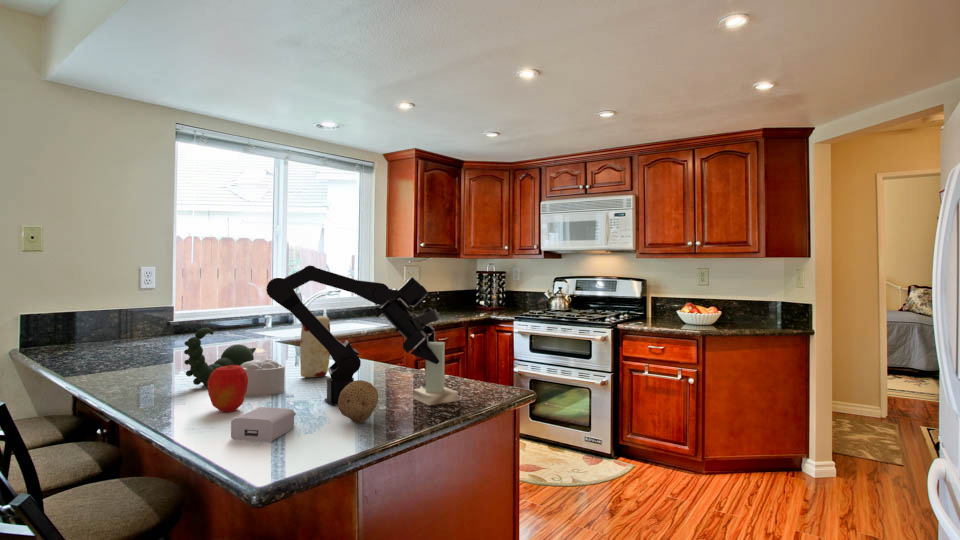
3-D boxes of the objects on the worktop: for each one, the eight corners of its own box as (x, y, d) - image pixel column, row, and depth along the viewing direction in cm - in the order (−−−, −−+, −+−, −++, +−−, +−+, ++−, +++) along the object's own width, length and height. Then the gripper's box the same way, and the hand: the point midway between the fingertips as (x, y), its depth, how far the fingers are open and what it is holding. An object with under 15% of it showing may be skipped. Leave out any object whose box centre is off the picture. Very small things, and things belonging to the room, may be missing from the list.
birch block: (428, 407, 134) (428, 396, 134) (412, 400, 141) (412, 389, 141) (457, 402, 139) (457, 391, 139) (440, 395, 146) (440, 385, 146)
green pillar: (425, 392, 138) (425, 344, 137) (428, 388, 142) (428, 341, 142) (442, 392, 138) (442, 344, 137) (444, 388, 142) (444, 342, 142)
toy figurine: (204, 398, 144) (268, 374, 167) (200, 332, 142) (265, 317, 166) (179, 395, 147) (245, 371, 171) (175, 330, 146) (242, 315, 169)
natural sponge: (368, 431, 111) (368, 385, 111) (330, 428, 113) (330, 383, 113) (383, 419, 120) (384, 377, 120) (348, 417, 122) (348, 375, 122)
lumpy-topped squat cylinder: (253, 386, 153) (253, 357, 153) (292, 388, 151) (292, 359, 151) (229, 394, 143) (230, 363, 143) (271, 397, 140) (272, 365, 140)
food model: (303, 380, 161) (304, 317, 161) (296, 376, 167) (297, 315, 167) (333, 376, 167) (334, 316, 167) (325, 373, 173) (326, 314, 173)
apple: (229, 404, 132) (230, 357, 132) (256, 408, 129) (257, 360, 129) (198, 413, 123) (198, 363, 123) (225, 417, 120) (226, 366, 120)
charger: (307, 422, 118) (272, 443, 103) (271, 419, 120) (230, 440, 105) (308, 401, 118) (272, 420, 103) (271, 399, 120) (230, 417, 105)
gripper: (416, 300, 131) (458, 344, 130) (427, 297, 150) (464, 335, 149) (385, 330, 131) (427, 374, 131) (400, 323, 150) (437, 361, 149)
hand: (440, 359), depth 140 cm, fingers open, 9 cm apart
